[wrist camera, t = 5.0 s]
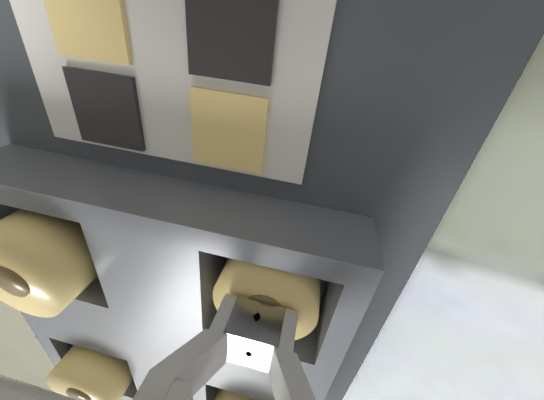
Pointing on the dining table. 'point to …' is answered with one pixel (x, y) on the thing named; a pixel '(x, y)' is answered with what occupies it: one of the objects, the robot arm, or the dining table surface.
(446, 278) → the dining table surface
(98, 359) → the button
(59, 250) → the button
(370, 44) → the board
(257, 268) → the button
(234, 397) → the button
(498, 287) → the dining table surface
